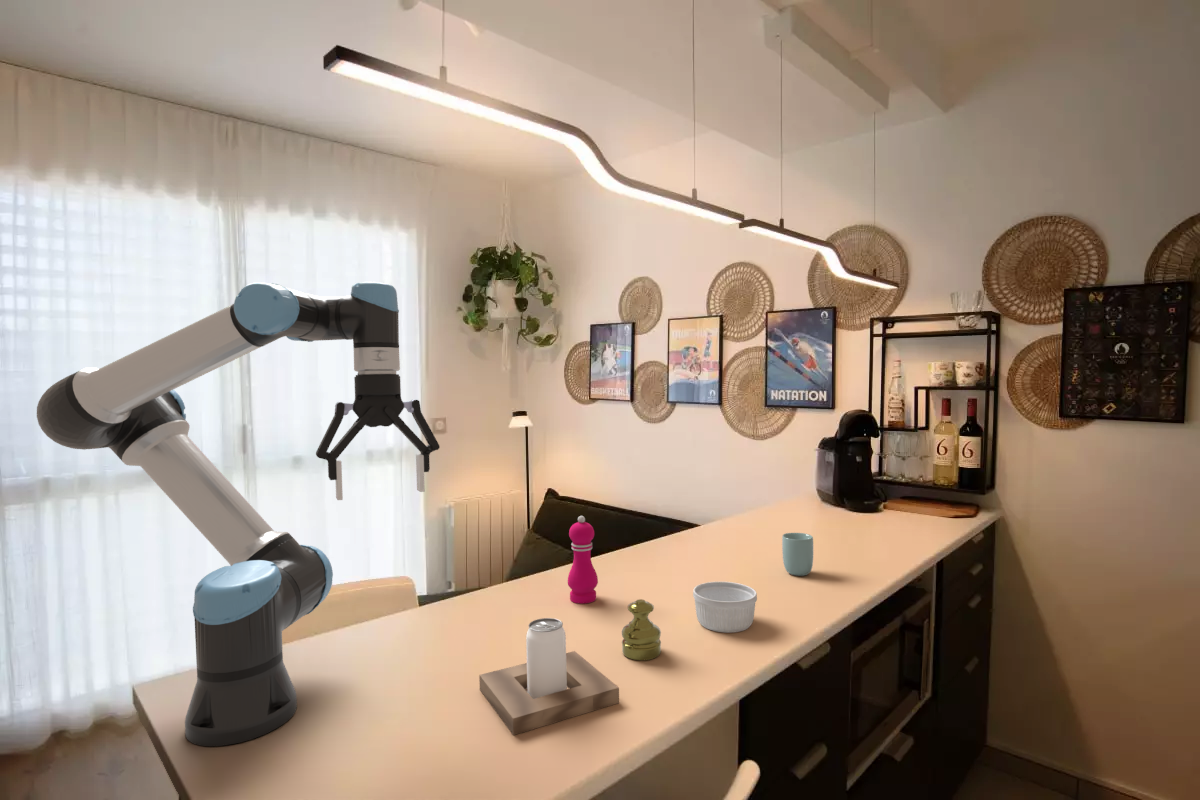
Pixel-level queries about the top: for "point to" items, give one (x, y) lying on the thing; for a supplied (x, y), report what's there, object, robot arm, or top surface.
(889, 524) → the top surface
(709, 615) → the ramekin
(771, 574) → the top surface
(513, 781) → the top surface
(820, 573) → the top surface
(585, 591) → the pepper mill
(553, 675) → the can
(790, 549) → the cup
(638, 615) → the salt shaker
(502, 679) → the frame
